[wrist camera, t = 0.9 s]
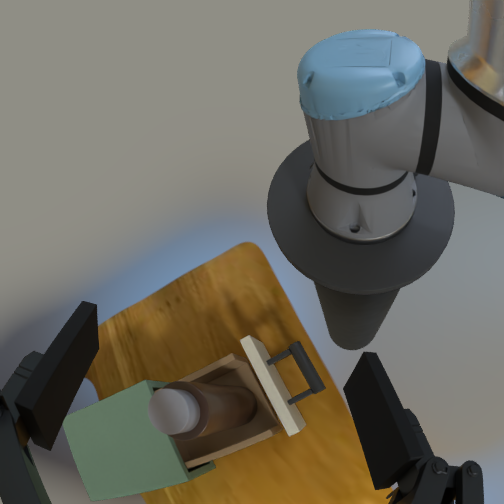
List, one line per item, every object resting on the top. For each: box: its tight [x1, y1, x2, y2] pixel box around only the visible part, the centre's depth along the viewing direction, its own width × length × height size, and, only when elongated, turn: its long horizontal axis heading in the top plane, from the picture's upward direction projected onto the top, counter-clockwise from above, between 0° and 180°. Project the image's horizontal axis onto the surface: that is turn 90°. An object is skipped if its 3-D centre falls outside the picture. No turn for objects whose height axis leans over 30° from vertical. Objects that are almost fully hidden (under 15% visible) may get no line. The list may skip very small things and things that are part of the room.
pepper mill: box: [148, 381, 257, 441], centre depth 27 cm, size 5×5×16 cm
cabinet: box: [63, 380, 216, 501], centre depth 33 cm, size 17×13×8 cm
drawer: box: [154, 335, 326, 468], centre depth 33 cm, size 20×12×6 cm, turn 116°
